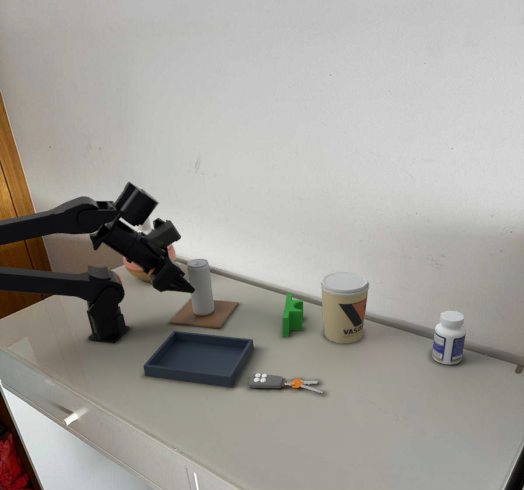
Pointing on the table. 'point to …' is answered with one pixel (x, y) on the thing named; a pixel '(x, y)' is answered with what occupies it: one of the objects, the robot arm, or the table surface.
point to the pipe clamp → (292, 315)
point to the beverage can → (200, 286)
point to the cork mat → (211, 321)
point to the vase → (135, 269)
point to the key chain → (278, 382)
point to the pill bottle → (449, 338)
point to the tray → (200, 358)
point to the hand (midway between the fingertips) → (188, 283)
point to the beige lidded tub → (344, 306)
